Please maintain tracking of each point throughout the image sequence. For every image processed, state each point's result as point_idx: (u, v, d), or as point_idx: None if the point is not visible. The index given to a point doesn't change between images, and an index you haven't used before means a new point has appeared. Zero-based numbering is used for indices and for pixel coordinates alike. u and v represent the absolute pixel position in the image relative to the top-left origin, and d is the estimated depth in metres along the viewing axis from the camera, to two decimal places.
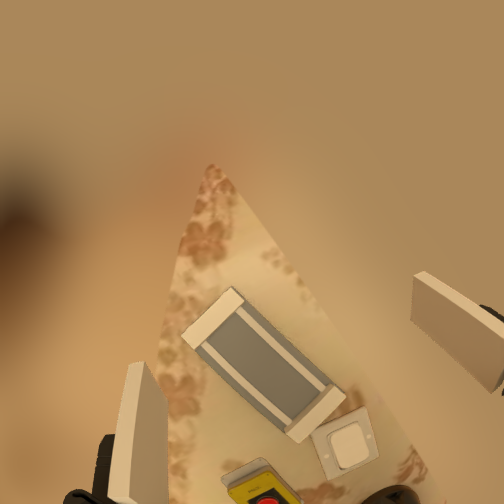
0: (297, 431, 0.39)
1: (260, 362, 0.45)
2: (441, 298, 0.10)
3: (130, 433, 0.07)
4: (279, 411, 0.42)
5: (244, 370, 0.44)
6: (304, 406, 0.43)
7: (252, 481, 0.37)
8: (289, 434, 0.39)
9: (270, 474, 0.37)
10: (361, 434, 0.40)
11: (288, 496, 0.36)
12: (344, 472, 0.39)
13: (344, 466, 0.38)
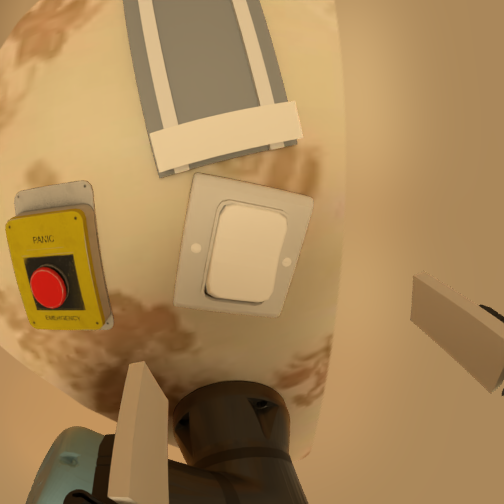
0: (173, 141, 0.19)
1: (196, 9, 0.18)
2: (441, 298, 0.10)
3: (130, 433, 0.07)
4: (168, 95, 0.20)
5: (163, 9, 0.17)
6: None
7: (46, 219, 0.20)
8: (155, 138, 0.19)
9: (80, 220, 0.20)
10: (279, 245, 0.25)
11: (88, 292, 0.22)
12: (208, 306, 0.27)
13: (215, 289, 0.24)
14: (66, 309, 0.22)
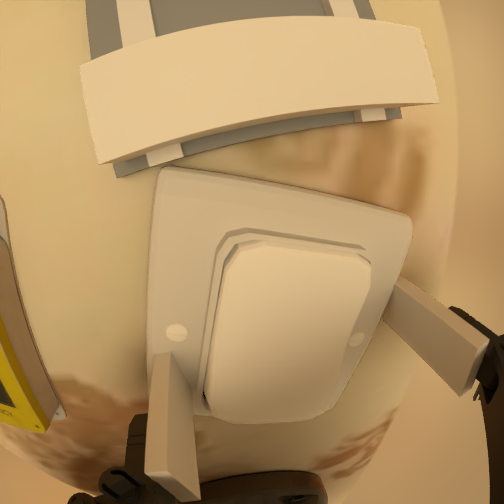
0: (137, 78, 0.06)
1: None
2: (409, 299, 0.11)
3: (164, 409, 0.08)
4: (143, 2, 0.07)
5: None
6: None
7: None
8: (92, 76, 0.06)
9: None
10: (352, 319, 0.11)
11: (13, 389, 0.09)
12: (212, 414, 0.14)
13: (223, 414, 0.11)
14: None
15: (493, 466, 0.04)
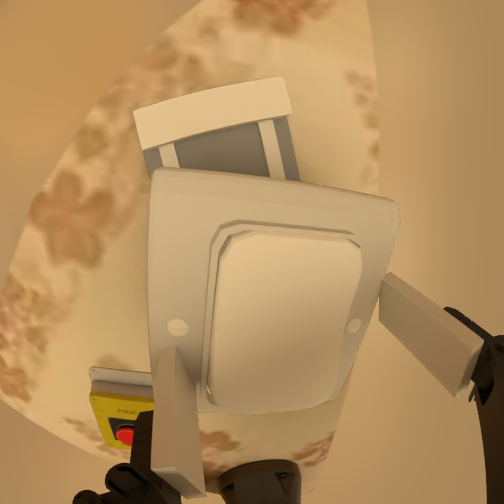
0: None
1: None
2: (404, 299, 0.11)
3: (169, 406, 0.09)
4: None
5: None
6: None
7: (131, 403, 0.27)
8: None
9: None
10: (347, 303, 0.12)
11: None
12: (218, 410, 0.14)
13: (228, 405, 0.11)
14: None
15: (489, 467, 0.04)
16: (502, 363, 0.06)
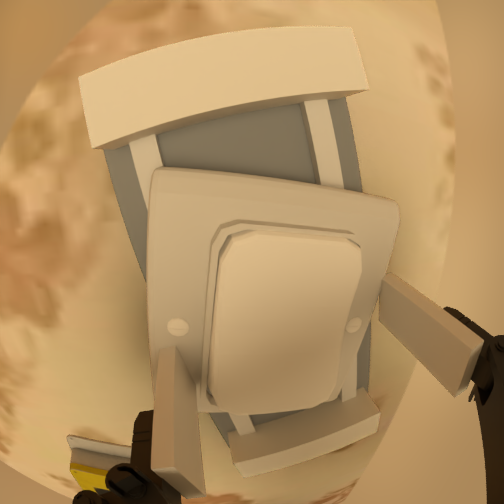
0: (257, 464, 0.16)
1: None
2: (404, 299, 0.11)
3: (170, 406, 0.09)
4: None
5: None
6: (293, 411, 0.19)
7: None
8: (239, 465, 0.16)
9: None
10: (347, 303, 0.12)
11: None
12: (218, 410, 0.14)
13: (228, 405, 0.11)
14: None
15: (489, 467, 0.04)
16: (502, 363, 0.06)
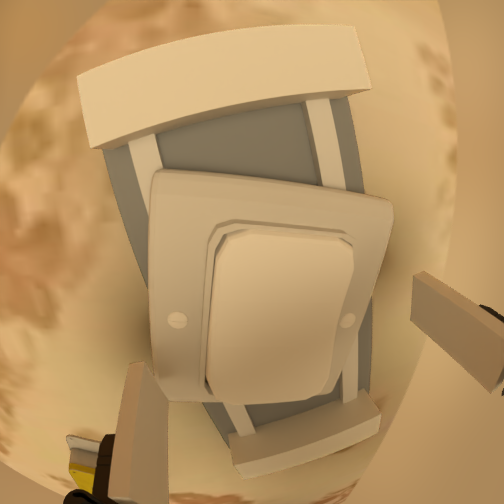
0: (258, 466, 0.16)
1: None
2: (441, 298, 0.10)
3: (130, 433, 0.07)
4: (243, 412, 0.17)
5: None
6: (294, 413, 0.19)
7: None
8: (239, 466, 0.16)
9: None
10: (340, 300, 0.12)
11: None
12: (216, 400, 0.15)
13: (223, 395, 0.12)
14: None
15: None
16: None
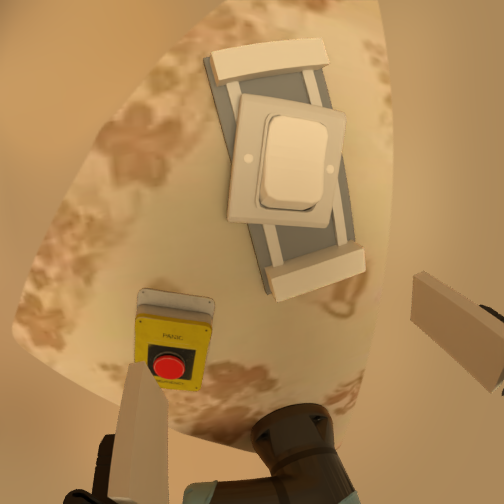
0: (287, 283, 0.30)
1: None
2: (441, 298, 0.10)
3: (130, 433, 0.07)
4: (276, 240, 0.31)
5: None
6: (307, 251, 0.33)
7: (180, 326, 0.31)
8: (275, 282, 0.30)
9: (209, 332, 0.32)
10: (323, 151, 0.26)
11: (198, 371, 0.34)
12: (262, 218, 0.29)
13: (271, 192, 0.26)
14: None
15: None
16: None
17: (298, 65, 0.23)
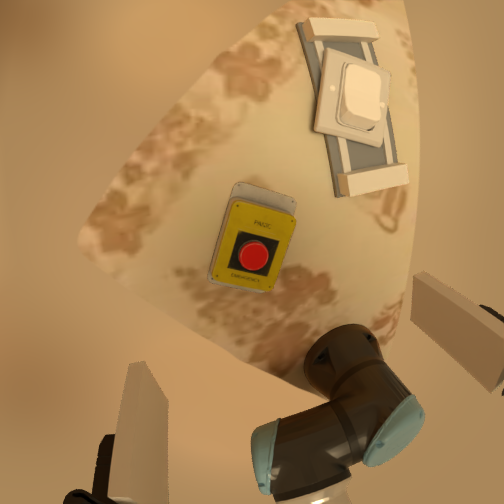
0: (357, 181, 0.37)
1: None
2: (441, 298, 0.10)
3: (130, 433, 0.07)
4: (346, 151, 0.38)
5: None
6: (366, 165, 0.39)
7: (271, 213, 0.37)
8: (349, 178, 0.37)
9: (294, 223, 0.38)
10: (379, 90, 0.33)
11: (276, 266, 0.40)
12: (340, 131, 0.35)
13: (350, 108, 0.32)
14: (253, 272, 0.40)
15: None
16: None
17: (361, 36, 0.30)
